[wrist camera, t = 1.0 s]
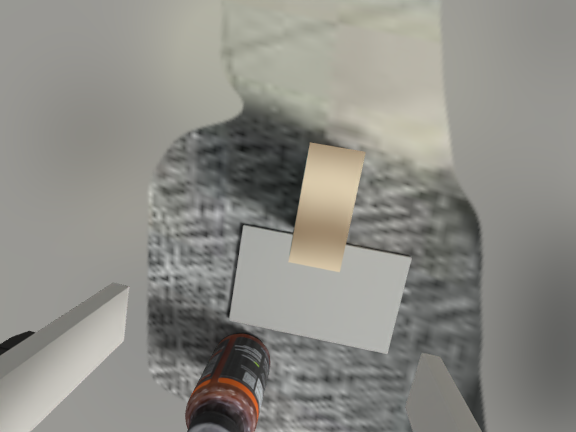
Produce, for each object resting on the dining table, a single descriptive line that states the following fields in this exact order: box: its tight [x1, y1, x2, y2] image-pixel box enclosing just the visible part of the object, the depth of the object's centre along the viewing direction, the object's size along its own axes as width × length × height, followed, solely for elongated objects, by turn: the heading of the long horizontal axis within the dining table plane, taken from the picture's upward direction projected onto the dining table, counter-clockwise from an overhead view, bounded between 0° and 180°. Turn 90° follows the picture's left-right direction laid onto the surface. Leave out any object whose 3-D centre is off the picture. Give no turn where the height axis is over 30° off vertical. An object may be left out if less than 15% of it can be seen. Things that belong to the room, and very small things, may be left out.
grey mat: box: [229, 225, 411, 354], centre depth 34 cm, size 10×16×1 cm, turn 80°
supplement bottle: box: [185, 334, 270, 432], centre depth 31 cm, size 6×6×11 cm
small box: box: [288, 142, 365, 272], centre depth 27 cm, size 8×4×10 cm, turn 170°
